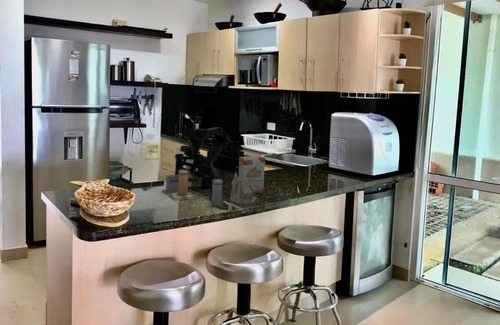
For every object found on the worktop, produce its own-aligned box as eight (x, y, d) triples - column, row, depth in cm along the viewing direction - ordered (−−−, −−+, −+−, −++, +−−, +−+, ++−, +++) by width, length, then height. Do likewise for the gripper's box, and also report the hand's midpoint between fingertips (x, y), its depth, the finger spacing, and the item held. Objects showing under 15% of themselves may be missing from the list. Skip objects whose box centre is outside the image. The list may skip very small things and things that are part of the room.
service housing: (181, 190, 260) (181, 173, 258) (185, 192, 254) (185, 176, 252) (162, 191, 255) (162, 174, 253) (166, 194, 249) (166, 177, 247)
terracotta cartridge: (187, 193, 246) (187, 169, 244) (187, 195, 241) (188, 171, 239) (178, 193, 245) (178, 169, 243) (178, 195, 240) (178, 171, 238)
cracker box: (242, 195, 254) (243, 158, 250) (237, 192, 259) (238, 156, 256) (264, 193, 260) (265, 157, 257) (259, 190, 266) (260, 155, 262)
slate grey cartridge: (219, 203, 233) (220, 178, 231) (223, 206, 229) (223, 180, 227) (210, 204, 231) (211, 179, 229) (214, 206, 227) (214, 181, 225)
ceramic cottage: (237, 204, 231) (239, 175, 230) (225, 198, 246) (227, 171, 245) (264, 204, 238) (266, 176, 237) (251, 198, 253) (253, 171, 251)
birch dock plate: (190, 194, 251) (190, 191, 251) (196, 198, 241) (197, 195, 241) (169, 195, 246) (169, 193, 245) (175, 200, 236) (175, 197, 236)
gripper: (174, 139, 254) (163, 162, 247) (200, 139, 243) (188, 163, 236) (185, 150, 262) (175, 173, 255) (210, 151, 251) (200, 174, 244)
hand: (184, 171), depth 247 cm, fingers open, 9 cm apart
